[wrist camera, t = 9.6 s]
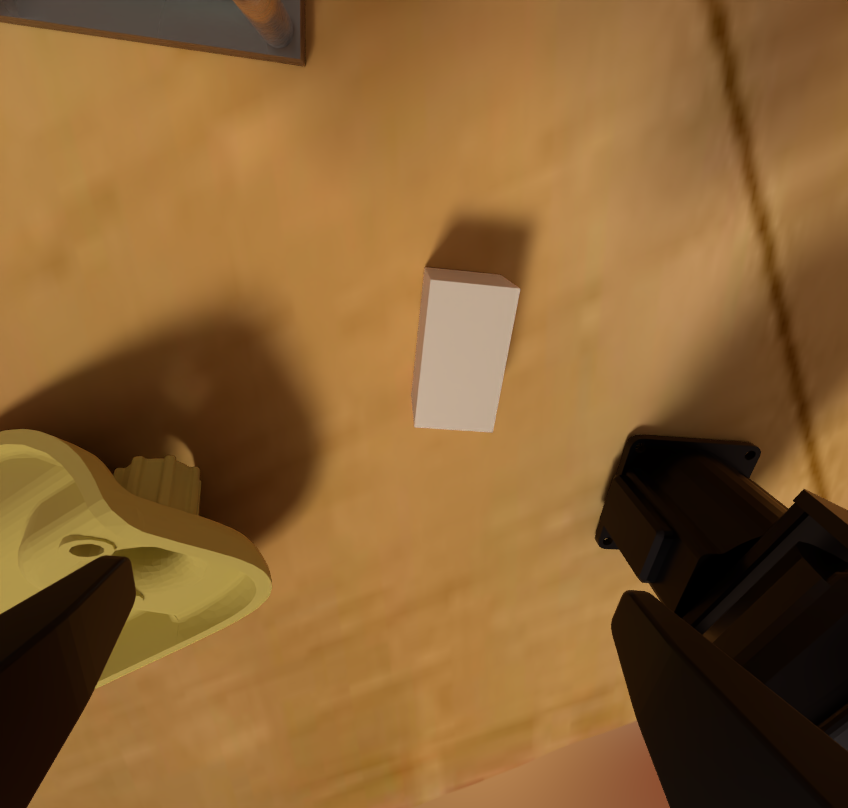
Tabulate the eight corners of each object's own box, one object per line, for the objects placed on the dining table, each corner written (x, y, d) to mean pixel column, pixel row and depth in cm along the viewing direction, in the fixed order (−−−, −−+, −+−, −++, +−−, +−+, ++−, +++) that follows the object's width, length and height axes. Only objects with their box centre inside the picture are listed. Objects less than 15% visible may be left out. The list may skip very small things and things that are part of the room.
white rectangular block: (500, 274, 17) (520, 288, 15) (478, 400, 20) (492, 432, 17) (424, 266, 17) (430, 279, 14) (411, 395, 19) (414, 427, 17)
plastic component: (22, 723, 23) (-294, 736, 16) (62, 583, 28) (-169, 544, 21) (322, 582, 19) (67, 509, 11) (309, 442, 23) (124, 325, 16)
